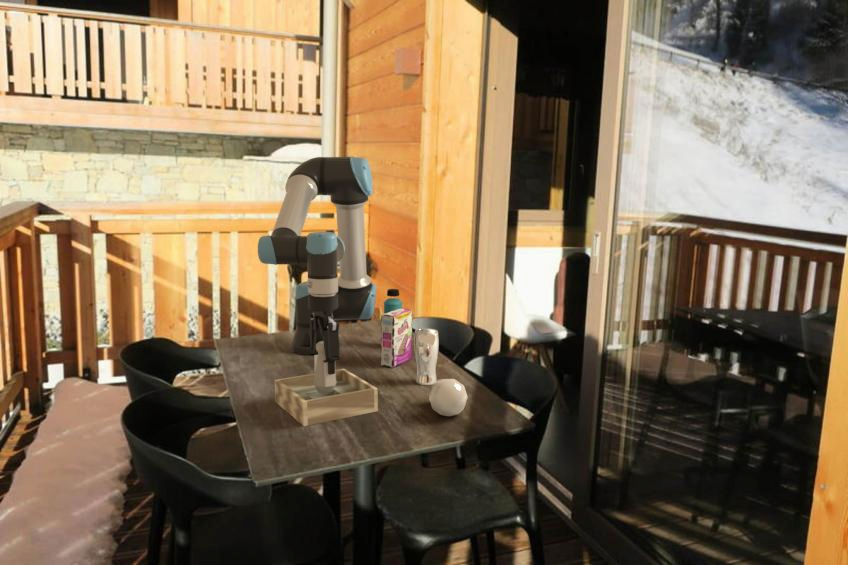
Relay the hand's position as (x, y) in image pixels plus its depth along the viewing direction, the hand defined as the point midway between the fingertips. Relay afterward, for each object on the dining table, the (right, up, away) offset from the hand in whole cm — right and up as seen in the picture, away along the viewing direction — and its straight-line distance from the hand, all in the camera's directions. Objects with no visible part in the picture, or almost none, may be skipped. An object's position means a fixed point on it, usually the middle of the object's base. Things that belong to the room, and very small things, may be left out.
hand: (325, 382), depth 183 cm
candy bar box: (+17, 0, +40) cm, 44 cm away
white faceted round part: (+31, -7, -2) cm, 32 cm away
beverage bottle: (+15, +3, +59) cm, 60 cm away
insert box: (0, -6, +1) cm, 7 cm away
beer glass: (+26, -3, +21) cm, 34 cm away
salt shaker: (0, -3, +1) cm, 3 cm away
